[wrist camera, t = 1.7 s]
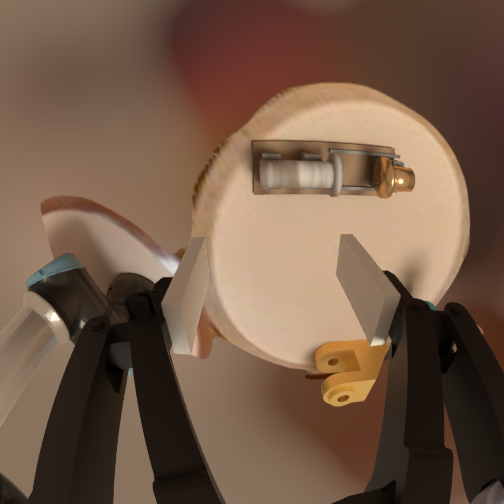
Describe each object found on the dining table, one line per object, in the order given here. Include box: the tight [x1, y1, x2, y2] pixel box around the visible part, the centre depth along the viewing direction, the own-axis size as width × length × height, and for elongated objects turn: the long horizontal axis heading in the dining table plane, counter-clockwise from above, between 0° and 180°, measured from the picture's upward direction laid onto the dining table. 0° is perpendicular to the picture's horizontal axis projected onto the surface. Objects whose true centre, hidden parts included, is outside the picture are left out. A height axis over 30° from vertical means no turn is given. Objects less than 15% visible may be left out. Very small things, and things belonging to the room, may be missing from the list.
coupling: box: [370, 157, 415, 198], centre depth 44 cm, size 6×7×10 cm
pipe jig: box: [253, 141, 400, 197], centre depth 45 cm, size 29×10×12 cm, turn 91°
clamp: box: [314, 340, 388, 406], centre depth 64 cm, size 20×9×16 cm, turn 88°
